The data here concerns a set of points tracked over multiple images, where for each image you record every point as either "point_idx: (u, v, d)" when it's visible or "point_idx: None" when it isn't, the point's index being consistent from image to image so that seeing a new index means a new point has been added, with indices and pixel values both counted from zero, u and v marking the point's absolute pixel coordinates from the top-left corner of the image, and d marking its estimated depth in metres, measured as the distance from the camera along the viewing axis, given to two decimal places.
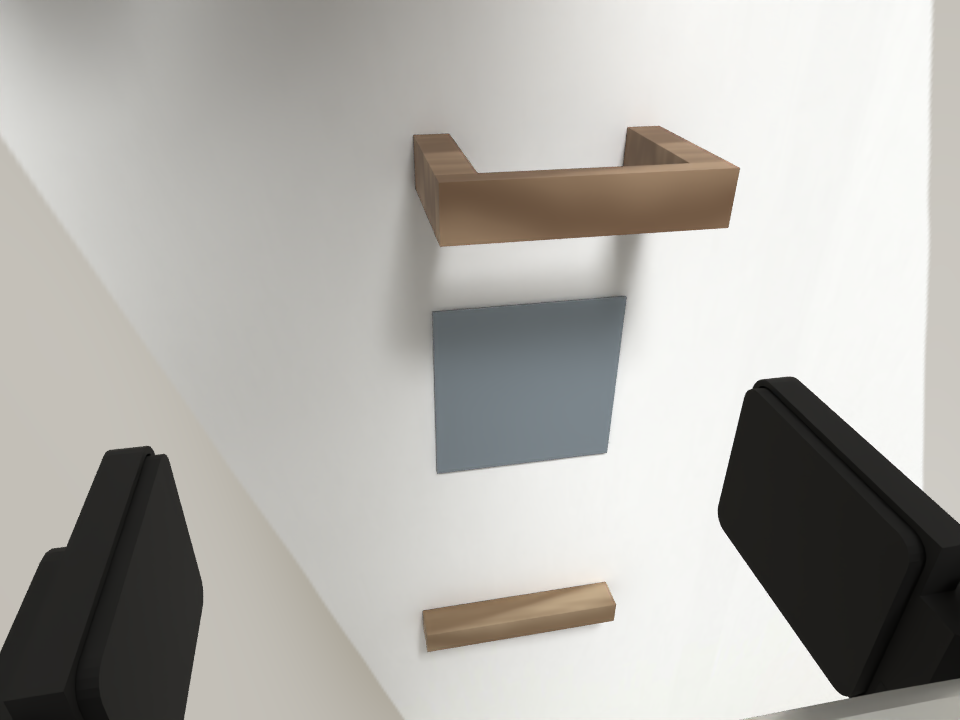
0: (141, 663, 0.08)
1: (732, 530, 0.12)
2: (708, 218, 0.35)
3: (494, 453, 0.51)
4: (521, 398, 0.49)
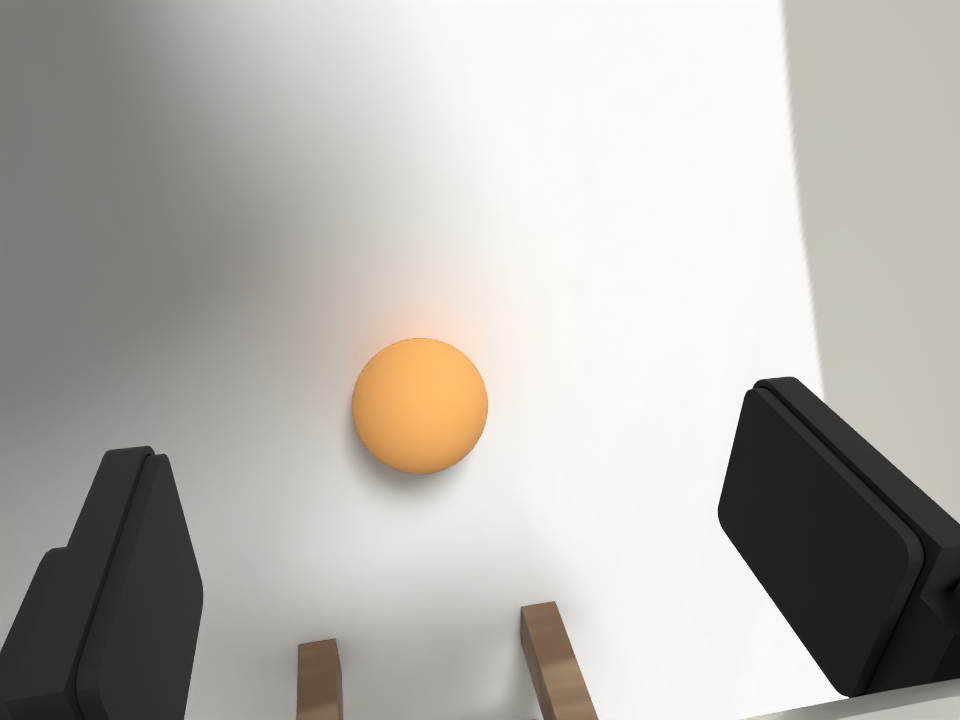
0: (141, 663, 0.08)
1: (732, 530, 0.12)
2: None
3: None
4: None
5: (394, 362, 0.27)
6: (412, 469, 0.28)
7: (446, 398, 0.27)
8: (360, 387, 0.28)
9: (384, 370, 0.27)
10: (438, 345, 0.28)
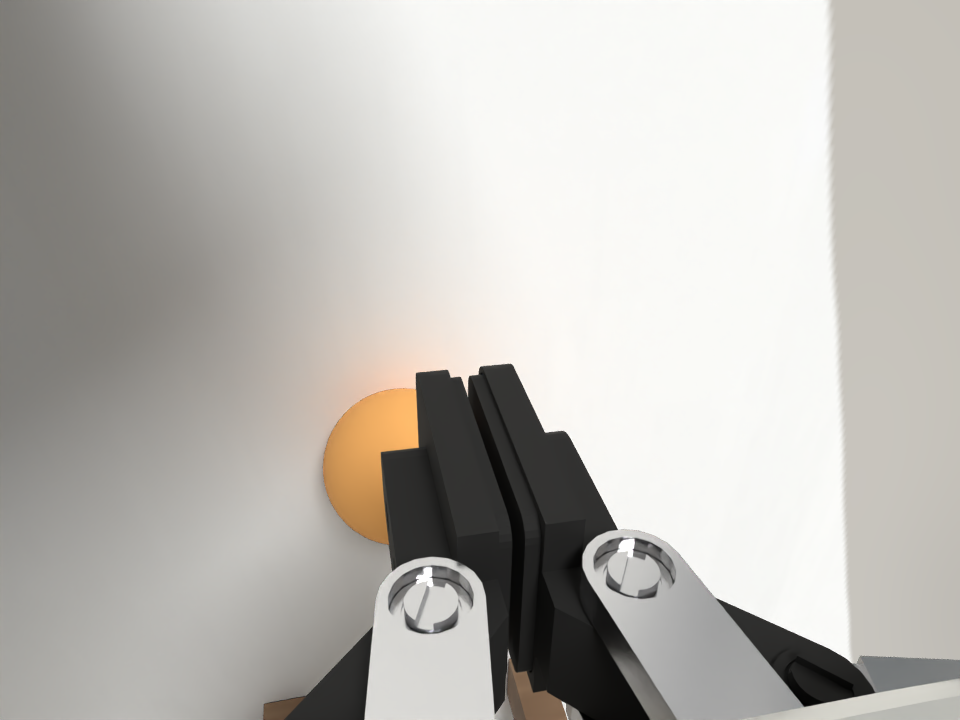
0: None
1: None
2: None
3: None
4: None
5: (373, 423, 0.23)
6: None
7: None
8: (333, 449, 0.24)
9: (361, 431, 0.23)
10: None
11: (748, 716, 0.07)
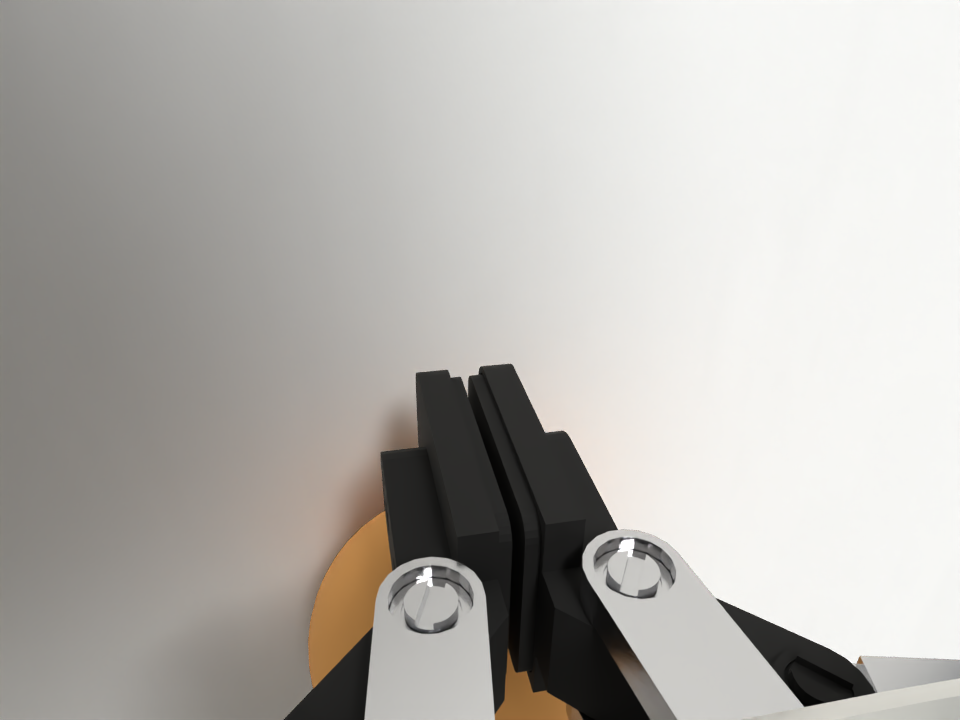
0: None
1: None
2: None
3: None
4: None
5: None
6: None
7: None
8: None
9: None
10: (528, 682, 0.12)
11: (748, 716, 0.07)
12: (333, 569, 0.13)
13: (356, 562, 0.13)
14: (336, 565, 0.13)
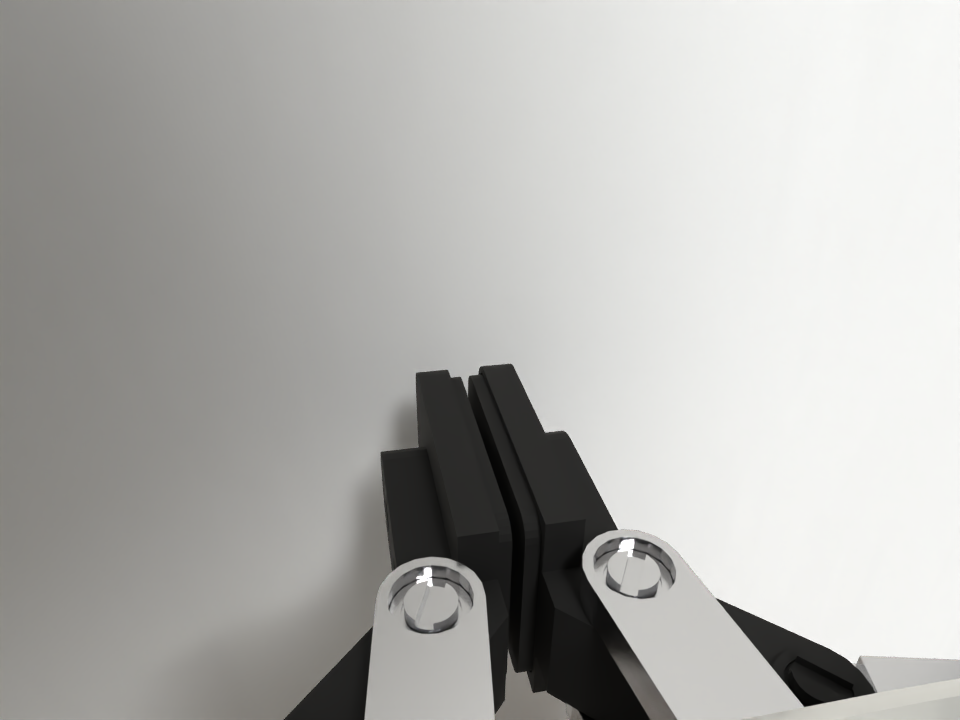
0: None
1: None
2: None
3: None
4: None
5: None
6: None
7: None
8: None
9: None
10: None
11: (748, 716, 0.07)
12: None
13: None
14: None
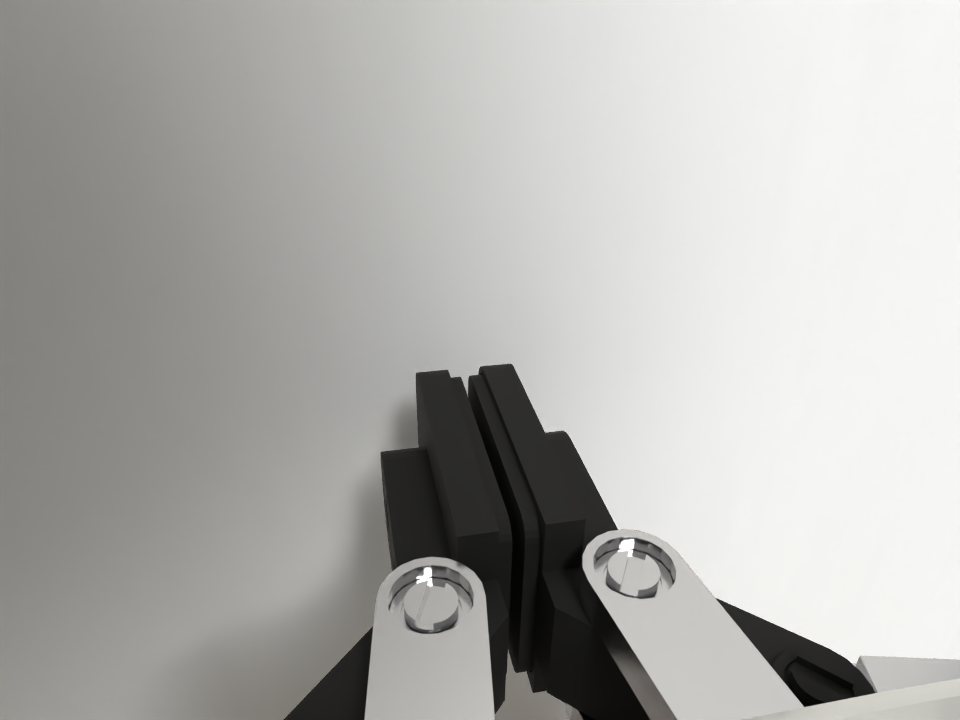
0: None
1: None
2: None
3: None
4: None
5: None
6: None
7: None
8: None
9: None
10: None
11: (748, 716, 0.07)
12: None
13: None
14: None
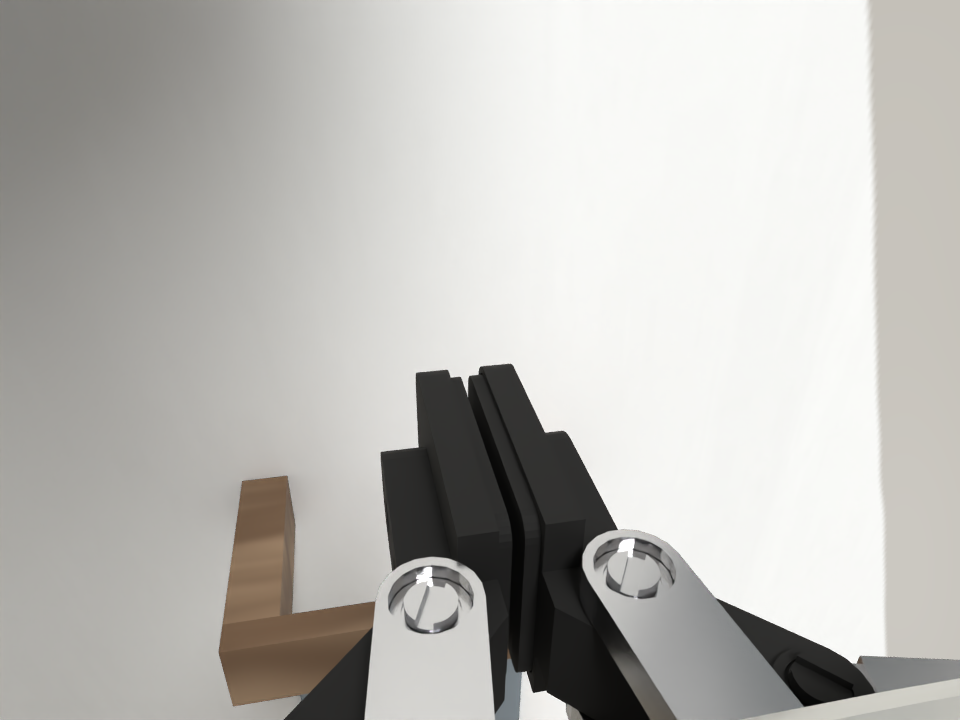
0: None
1: None
2: None
3: None
4: None
5: None
6: None
7: None
8: None
9: None
10: None
11: (748, 716, 0.07)
12: None
13: None
14: None
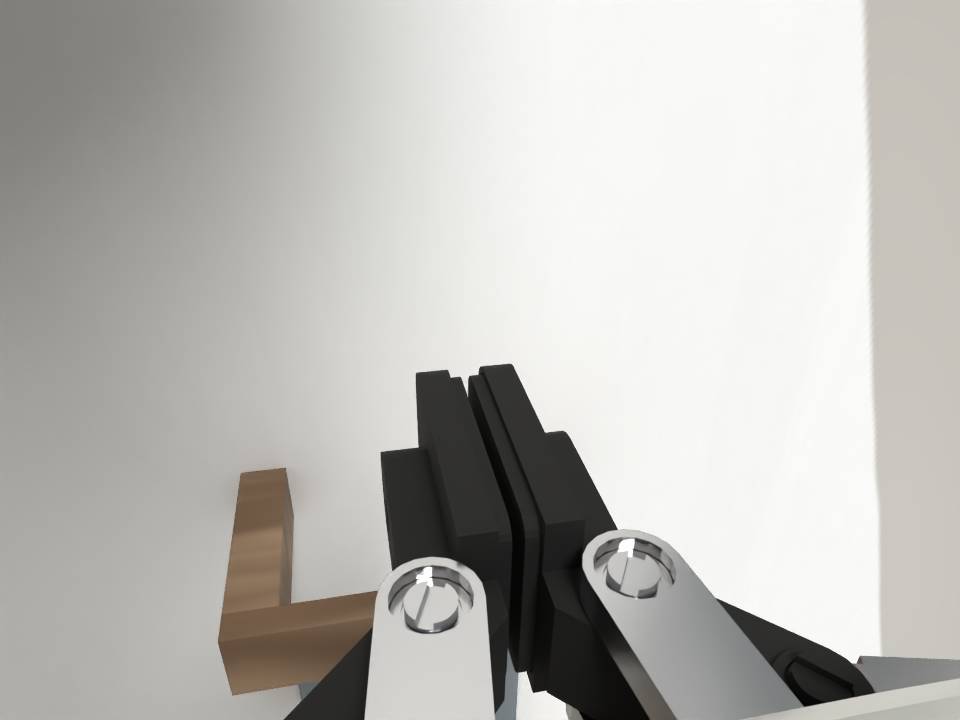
0: None
1: None
2: None
3: None
4: None
5: None
6: None
7: None
8: None
9: None
10: None
11: (748, 716, 0.07)
12: None
13: None
14: None
